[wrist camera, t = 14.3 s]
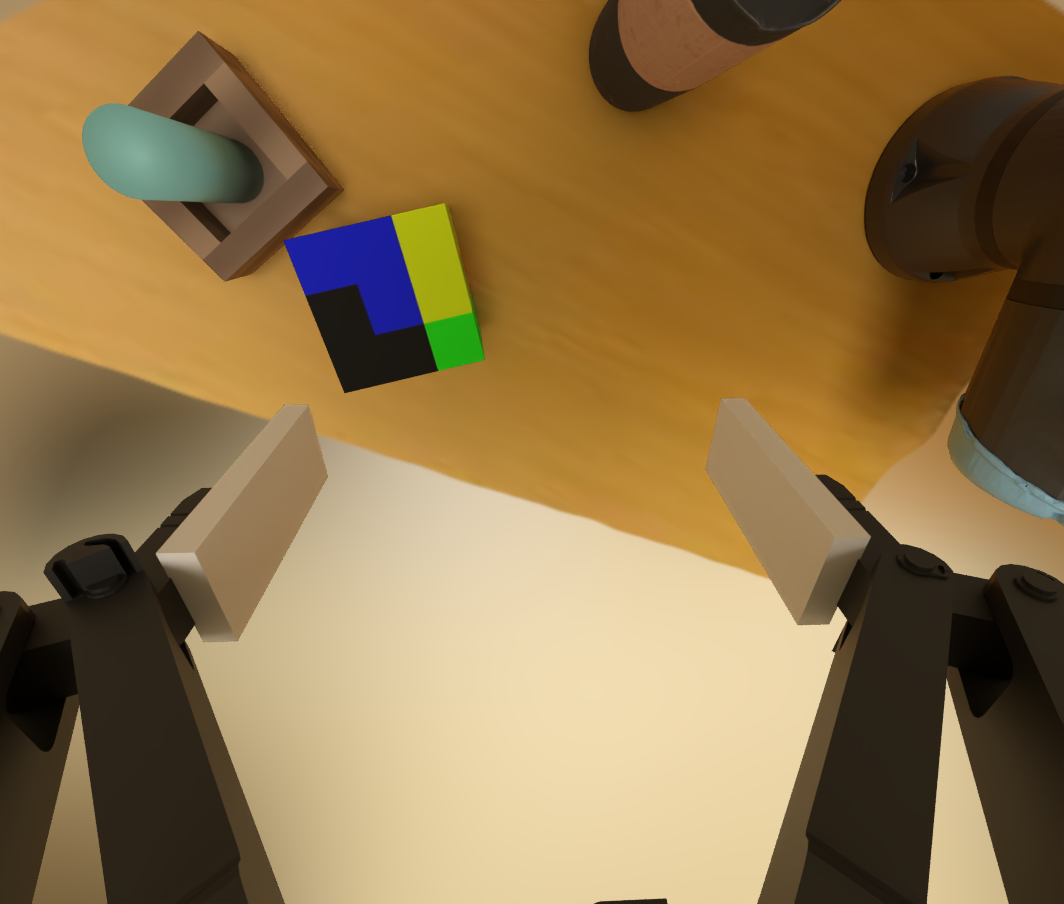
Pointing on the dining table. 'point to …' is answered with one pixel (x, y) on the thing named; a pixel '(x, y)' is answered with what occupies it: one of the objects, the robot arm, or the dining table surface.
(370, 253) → the puzzle toy
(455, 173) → the dining table surface
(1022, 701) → the robot arm
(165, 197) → the teal dowel
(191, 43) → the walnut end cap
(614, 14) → the travel mug
